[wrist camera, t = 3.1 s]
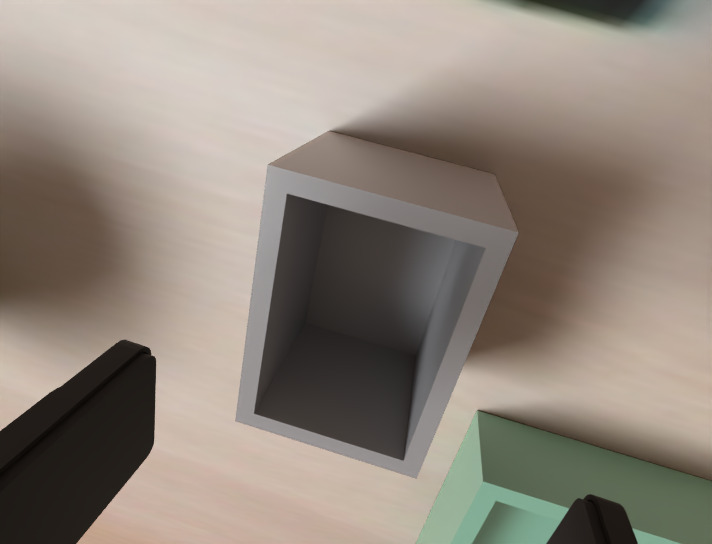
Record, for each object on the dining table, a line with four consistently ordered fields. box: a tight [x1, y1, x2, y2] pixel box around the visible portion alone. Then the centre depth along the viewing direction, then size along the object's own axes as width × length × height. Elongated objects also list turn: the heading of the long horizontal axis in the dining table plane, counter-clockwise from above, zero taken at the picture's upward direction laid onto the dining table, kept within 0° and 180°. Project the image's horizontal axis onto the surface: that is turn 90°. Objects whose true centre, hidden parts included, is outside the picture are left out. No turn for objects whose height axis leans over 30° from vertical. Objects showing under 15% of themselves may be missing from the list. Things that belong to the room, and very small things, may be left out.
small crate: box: [235, 131, 519, 479], centre depth 16 cm, size 9×6×6 cm
